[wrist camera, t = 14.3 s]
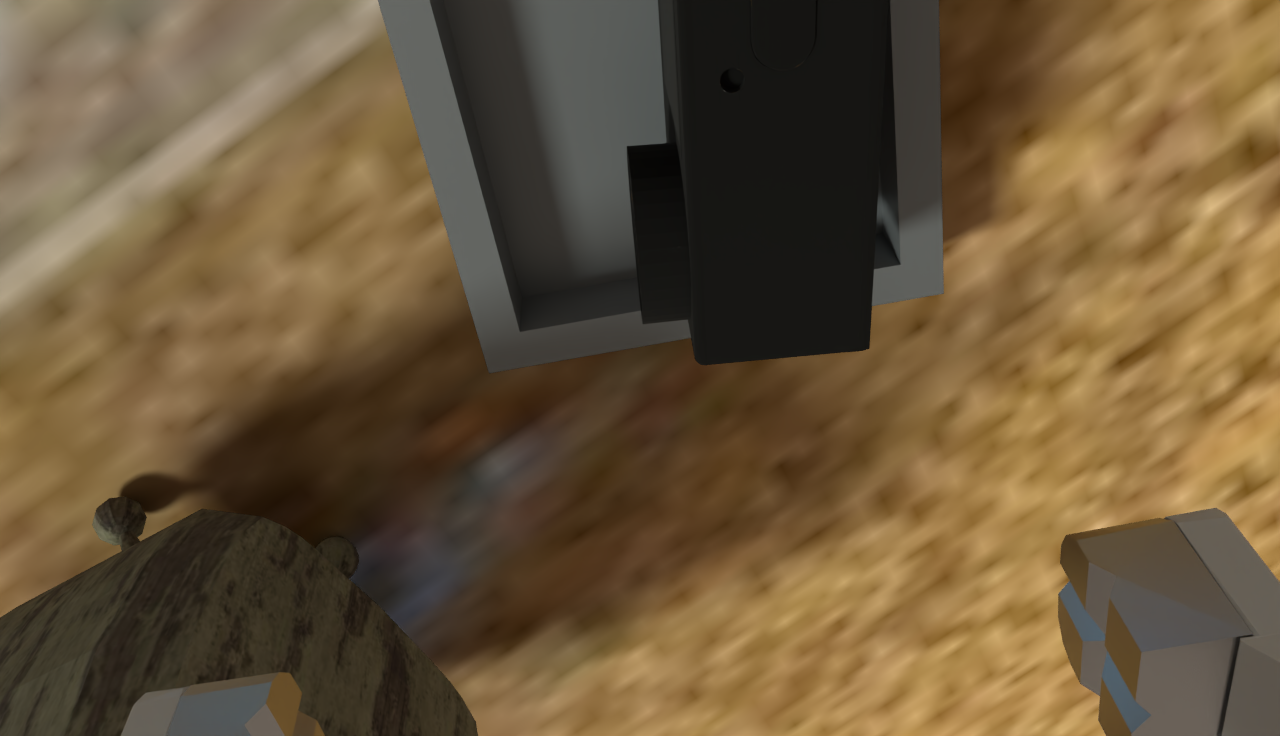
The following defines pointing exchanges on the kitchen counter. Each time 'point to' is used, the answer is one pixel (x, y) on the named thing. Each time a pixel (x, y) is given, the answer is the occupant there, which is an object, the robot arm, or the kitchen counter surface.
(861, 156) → the digital camera
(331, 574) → the tabletop clock
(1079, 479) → the kitchen counter surface
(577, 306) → the tray
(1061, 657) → the kitchen counter surface
